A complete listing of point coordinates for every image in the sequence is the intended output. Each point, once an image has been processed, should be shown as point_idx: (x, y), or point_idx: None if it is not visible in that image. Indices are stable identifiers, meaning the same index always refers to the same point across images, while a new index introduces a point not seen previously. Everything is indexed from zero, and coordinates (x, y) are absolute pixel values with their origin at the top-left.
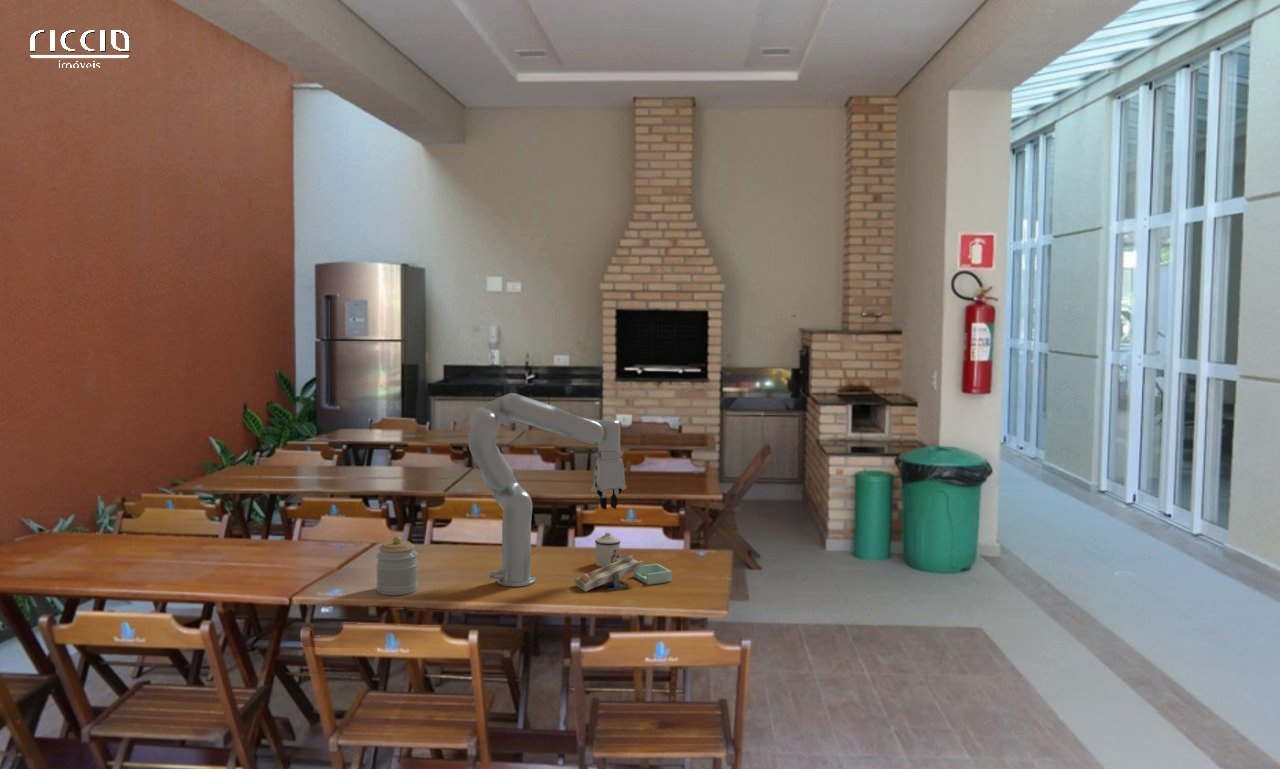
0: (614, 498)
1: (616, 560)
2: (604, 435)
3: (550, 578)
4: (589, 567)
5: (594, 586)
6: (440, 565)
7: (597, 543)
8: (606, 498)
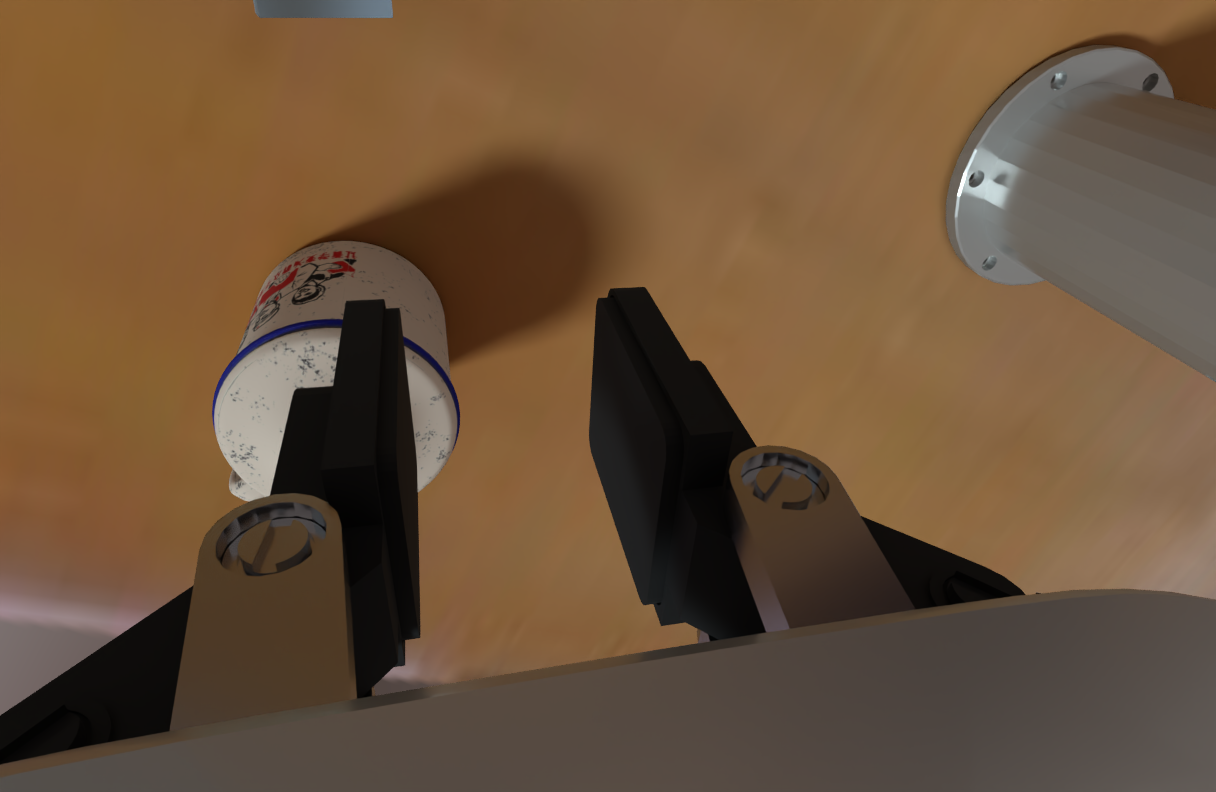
0: (393, 446)
1: (389, 13)
2: None
3: (857, 154)
4: (506, 301)
5: None
6: (1078, 536)
7: (455, 394)
8: (670, 440)
